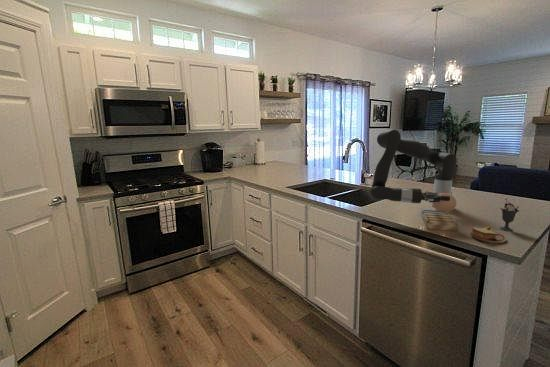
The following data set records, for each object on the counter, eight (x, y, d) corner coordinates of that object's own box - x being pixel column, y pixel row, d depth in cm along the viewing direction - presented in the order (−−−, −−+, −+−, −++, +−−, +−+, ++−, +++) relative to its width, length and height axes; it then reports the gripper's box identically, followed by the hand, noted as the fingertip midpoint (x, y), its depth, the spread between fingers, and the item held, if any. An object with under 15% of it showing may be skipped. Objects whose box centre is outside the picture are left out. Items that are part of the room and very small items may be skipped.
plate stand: (421, 218, 148) (422, 212, 147) (420, 214, 153) (420, 208, 153) (447, 220, 144) (447, 213, 143) (444, 216, 149) (445, 210, 149)
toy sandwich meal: (513, 244, 115) (515, 234, 114) (481, 244, 116) (482, 234, 115) (491, 232, 127) (493, 223, 126) (462, 233, 128) (463, 223, 127)
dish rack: (426, 228, 134) (426, 221, 134) (422, 219, 146) (422, 213, 146) (456, 230, 130) (457, 223, 129) (449, 221, 142) (450, 215, 141)
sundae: (493, 227, 133) (498, 197, 130) (506, 226, 134) (511, 197, 130) (505, 232, 127) (510, 201, 123) (519, 231, 127) (524, 201, 124)
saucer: (432, 211, 137) (434, 192, 135) (431, 210, 139) (433, 191, 136) (454, 213, 134) (457, 194, 131) (453, 212, 135) (456, 193, 133)
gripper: (412, 191, 133) (453, 194, 127) (409, 185, 145) (446, 187, 139) (411, 206, 134) (451, 209, 128) (408, 199, 147) (445, 201, 141)
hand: (449, 198), depth 134 cm, fingers closed on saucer, 1 cm apart
